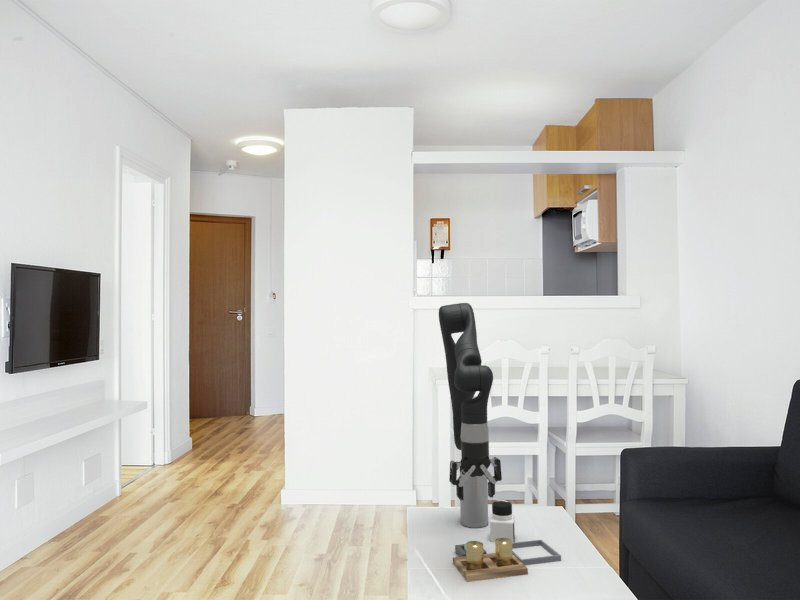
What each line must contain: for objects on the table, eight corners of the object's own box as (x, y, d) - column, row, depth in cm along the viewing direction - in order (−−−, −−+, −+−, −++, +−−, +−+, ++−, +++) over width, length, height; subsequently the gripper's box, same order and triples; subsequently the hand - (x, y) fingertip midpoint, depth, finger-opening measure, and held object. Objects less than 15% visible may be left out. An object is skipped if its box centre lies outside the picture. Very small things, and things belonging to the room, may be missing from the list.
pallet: (453, 566, 170) (452, 557, 170) (509, 559, 174) (509, 550, 174) (467, 585, 158) (467, 575, 158) (527, 577, 162) (527, 568, 162)
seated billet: (493, 564, 169) (492, 538, 169) (508, 562, 170) (508, 537, 170) (499, 571, 164) (499, 545, 164) (515, 569, 165) (514, 543, 165)
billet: (464, 567, 167) (464, 541, 167) (480, 565, 168) (480, 540, 168) (469, 574, 162) (469, 548, 162) (485, 572, 163) (485, 546, 163)
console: (455, 555, 177) (455, 545, 177) (477, 552, 179) (477, 542, 179) (463, 565, 171) (463, 554, 171) (486, 562, 172) (486, 551, 172)
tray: (503, 552, 179) (503, 543, 179) (541, 547, 182) (541, 539, 182) (520, 569, 167) (520, 560, 167) (561, 564, 170) (561, 555, 170)
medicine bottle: (514, 546, 184) (513, 506, 184) (490, 544, 185) (489, 505, 185) (514, 537, 190) (513, 499, 191) (491, 536, 192) (490, 497, 192)
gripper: (454, 443, 161) (455, 505, 161) (504, 439, 164) (505, 500, 164) (445, 437, 168) (446, 496, 168) (494, 434, 171) (495, 491, 171)
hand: (476, 498), depth 166 cm, fingers open, 8 cm apart
